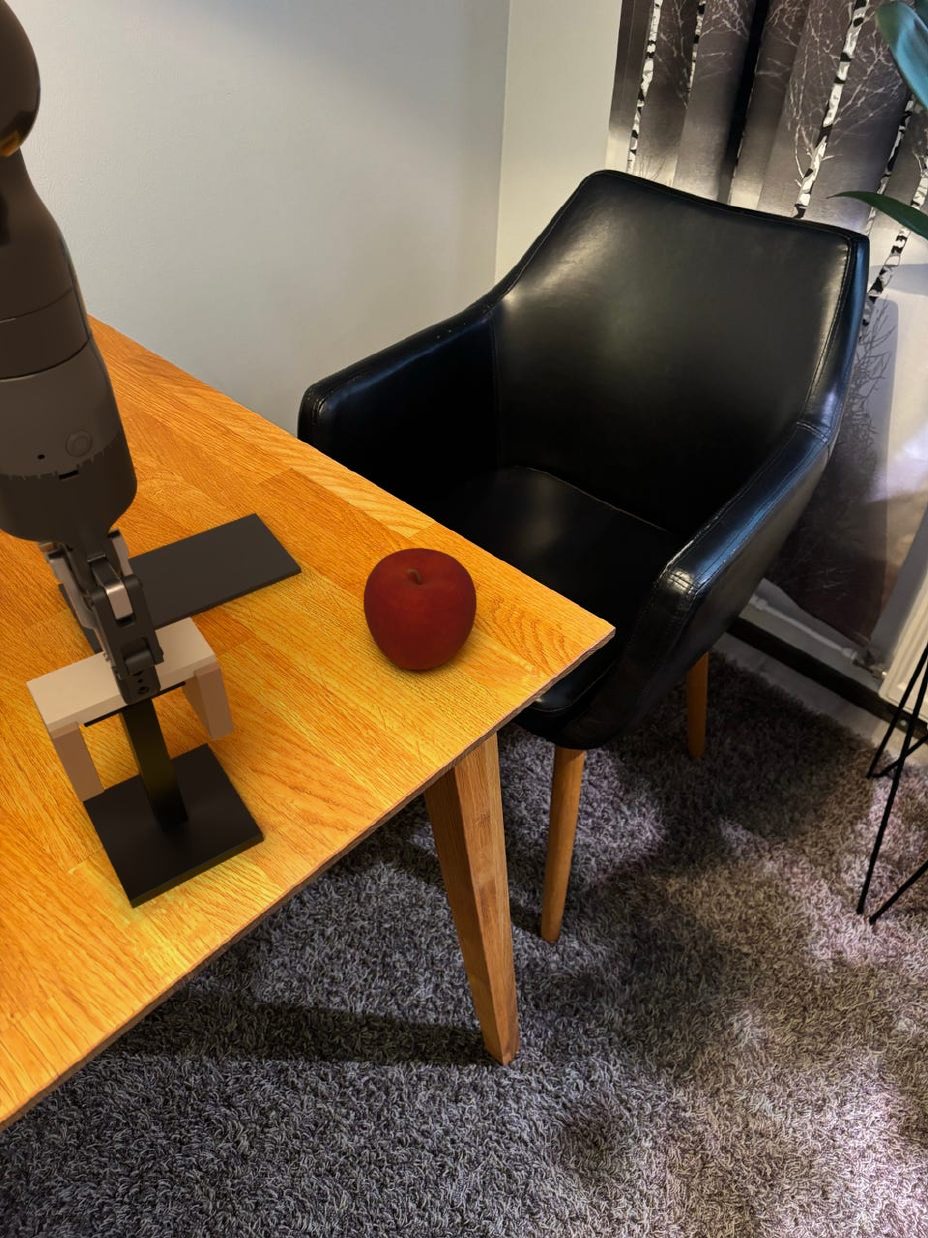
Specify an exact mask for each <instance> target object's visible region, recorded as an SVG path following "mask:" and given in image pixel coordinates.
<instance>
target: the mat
mask: <svg viewBox="0 0 928 1238" xmlns="http://www.w3.org/2000/svg"><path fill="white" fill-rule="evenodd" d="M128 562H129V565H130V567H131V569H132V572H133V573H135V575H136V576H137V578H138V579H139V578H140V580H141V581H142V584H143V588H142V590H143V593H144V596H145V599H146V603H147V606H148V609H149V612H150V616H151V619H152V622H153V625H154V629H155V630H158V629H160V628H163V627H165V626H168V625H171V624H173V623H176V622H178V621H181V620H183V619H186V618H188V617H190V618H191V617H193V616H195V615H198V614H200V613H203V612H205V611H208V610H211V609H214V608H215V607H218V606H221V605H223V604H226V603H228V602H230V601H233V600H235V599H238V598H240V597H243V596H246V595H249V594H250V593H253V592H256V591H259V590H260V589H263V588H266V587H267V586H270V585H273V584H276V583H278V582H281V581H284V580H286V579H288V578H290V577H293V576H296V575H298V574H301V573H302V567H301V566H300V565H299V564H298V562H297V561H296V560H295V559H294V557H293V556H292V555H291V554H290V552H289V551H288V550H287V549H286V548H285V546H283V544H282V543H281V542H280V540H278V538H277V537H276V535H274V534H273V532H272V531H271V530H270V528H269V527H268V526H267V525H266V523H264V521H263V520H262V519H261V517H260V516H259V515H258V514H257V513H256V512H253V513H251V514H248V515H245V516H243V517H240V518H237V519H234V520H232V521H229V522H225V523H223V524H221V525H218V526H215V527H212V528H209V529H206V530H204V531H201V532H197V533H196V534H193V535H190V536H187V537H185V538H182V539H179V540H175V541H174V542H173V541H172V542H171V543H169V544H165V545H163V546H160V547H157V548H154V549H151V550H149V551H146V552H144V553H140V554H137V555H135V556H132V557H129V558H128ZM120 578H121V575H120ZM57 587H58V590H59V592H60V593H61V595H62V597H63V599H64V601H65V602H66V604H67V606H68V608H69V610H70V612H71V613H72V615H73V617H74V618H75V621H76V622H77V624H78V626H79V627H80V629H81V631H82V633H83V635H84V637H85V638H86V640H87V642H88V645H90V647H91V649H92V651H93V653H94V655H95V654H98V653H100V652H103V649H102V647H101V644H100V642H99V640H98V638H97V635H96V633H95V631H94V630H93V629H89V628H86V627H84V626H83V625H82V624H81V623H80V621H79V618H78V616H76V614H75V612H74V611H73V609H72V607H71V604H70V601H69V598H68V596H67V593H66V590H65V588H64V585H63V583H62V582H60V583H58V584H57Z"/></svg>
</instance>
